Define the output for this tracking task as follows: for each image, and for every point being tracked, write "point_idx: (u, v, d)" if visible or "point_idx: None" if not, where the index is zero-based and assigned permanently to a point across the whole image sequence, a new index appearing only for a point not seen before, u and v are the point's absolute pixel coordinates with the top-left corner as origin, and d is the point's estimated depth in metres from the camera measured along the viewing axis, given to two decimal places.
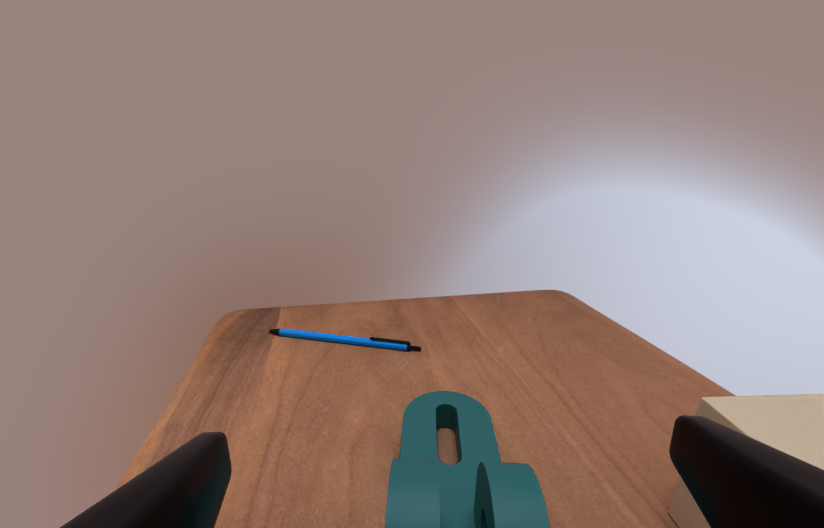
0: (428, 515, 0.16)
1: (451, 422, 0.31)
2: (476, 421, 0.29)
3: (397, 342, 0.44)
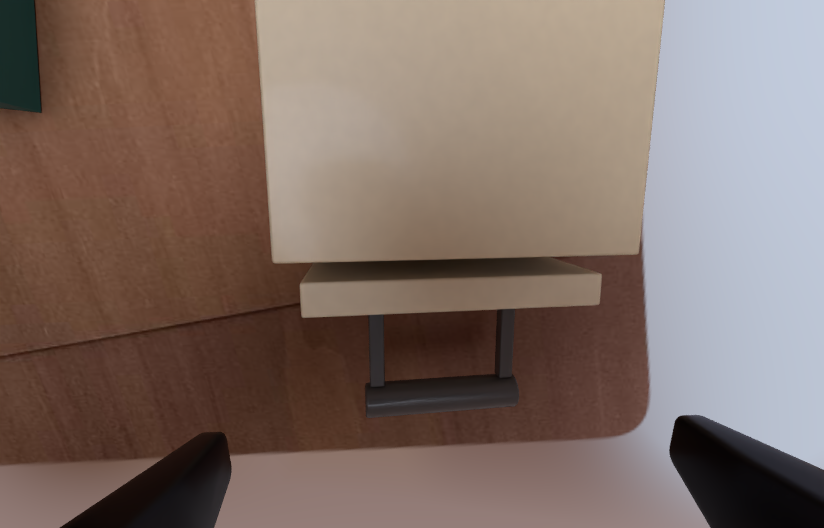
0: None
1: None
2: None
3: None
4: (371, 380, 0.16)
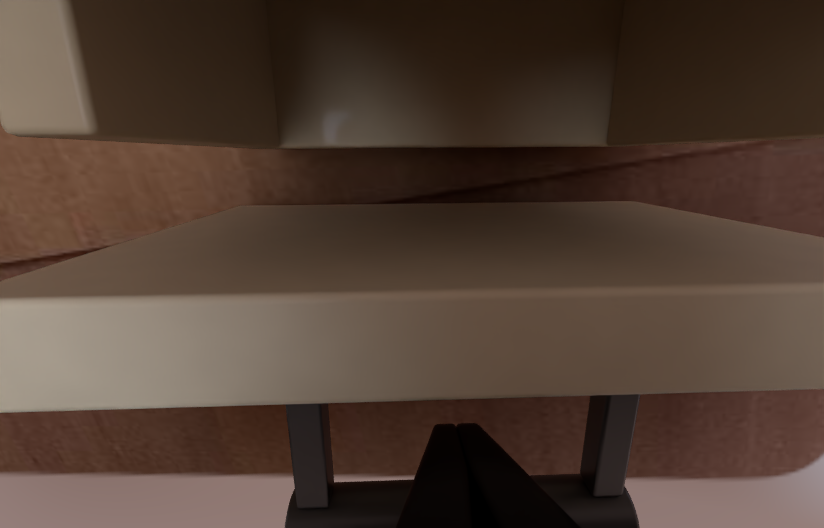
0: None
1: None
2: None
3: None
4: (298, 495, 0.07)
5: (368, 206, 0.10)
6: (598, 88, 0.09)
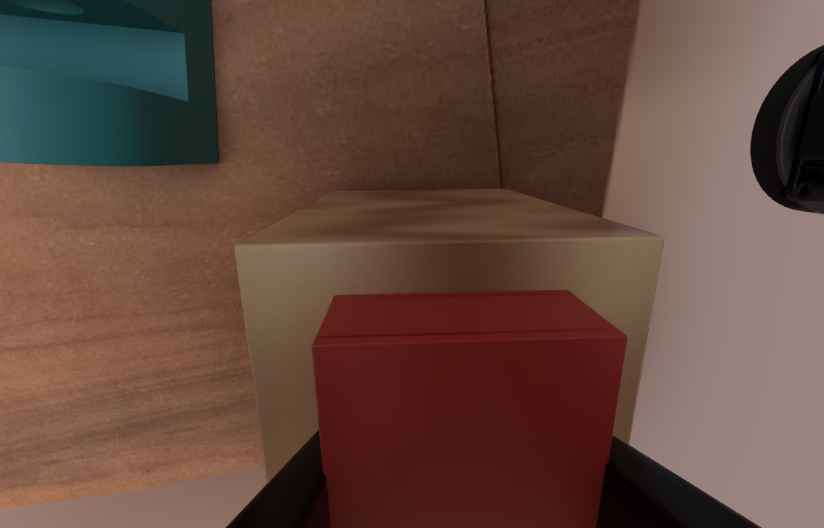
0: None
1: None
2: None
3: None
4: None
5: None
6: None
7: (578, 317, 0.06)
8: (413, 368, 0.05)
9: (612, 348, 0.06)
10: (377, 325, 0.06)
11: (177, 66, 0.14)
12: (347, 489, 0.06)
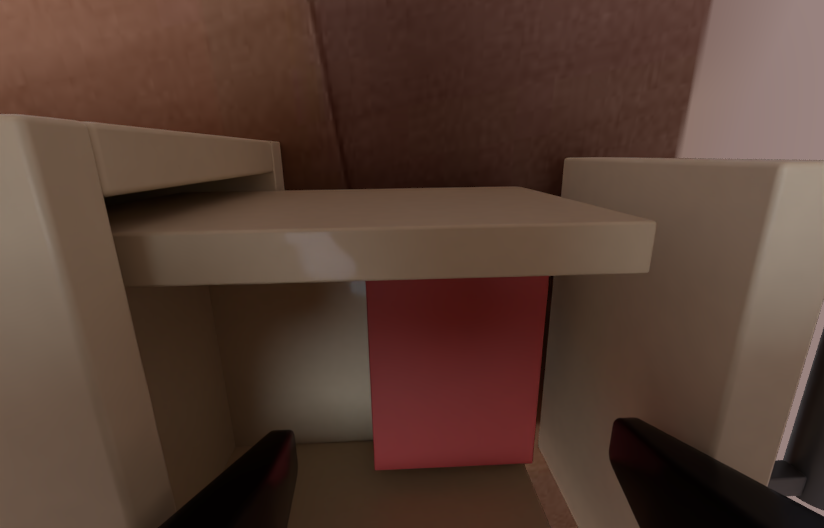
0: None
1: None
2: None
3: None
4: (790, 494, 0.10)
5: (550, 374, 0.13)
6: None
7: None
8: (424, 280, 0.09)
9: None
10: None
11: None
12: (383, 359, 0.10)
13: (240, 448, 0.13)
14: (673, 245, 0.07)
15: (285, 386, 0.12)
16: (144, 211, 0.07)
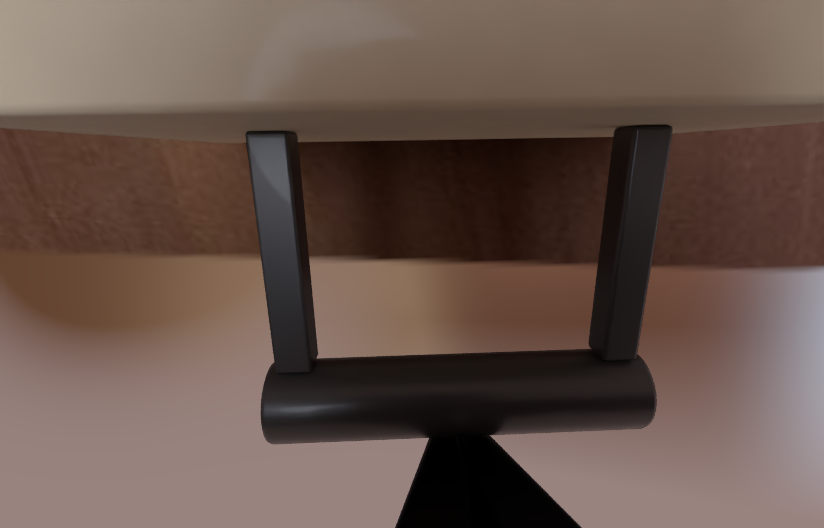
0: None
1: None
2: None
3: None
4: (276, 357, 0.06)
5: None
6: None
7: None
8: None
9: None
10: None
11: None
12: None
13: None
14: None
15: None
16: None
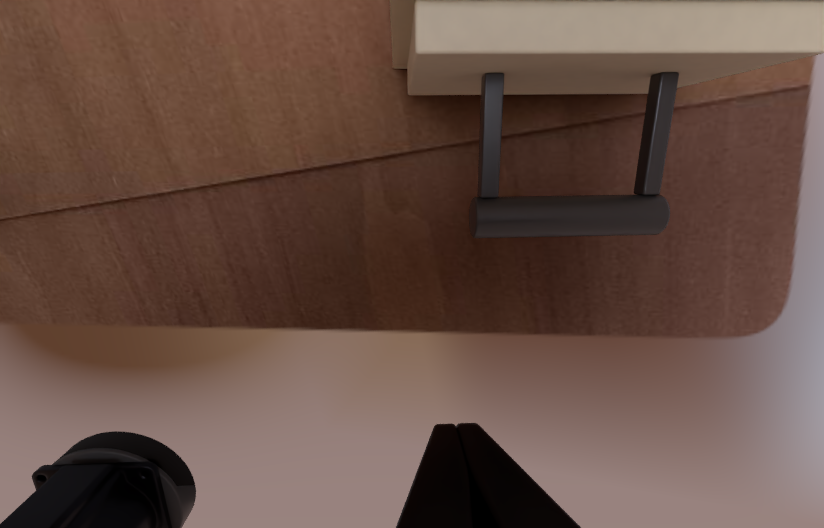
0: None
1: None
2: None
3: None
4: (482, 188, 0.13)
5: None
6: None
7: None
8: None
9: None
10: None
11: None
12: None
13: None
14: None
15: None
16: None
